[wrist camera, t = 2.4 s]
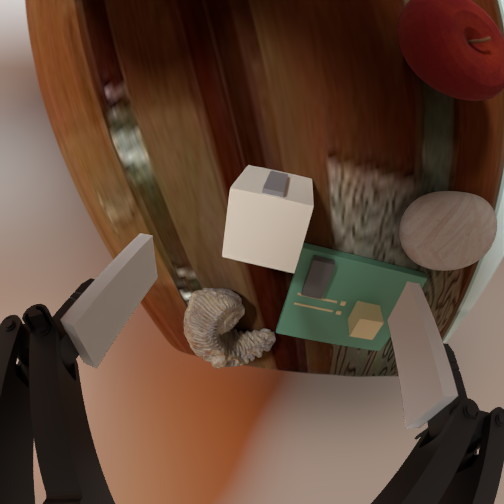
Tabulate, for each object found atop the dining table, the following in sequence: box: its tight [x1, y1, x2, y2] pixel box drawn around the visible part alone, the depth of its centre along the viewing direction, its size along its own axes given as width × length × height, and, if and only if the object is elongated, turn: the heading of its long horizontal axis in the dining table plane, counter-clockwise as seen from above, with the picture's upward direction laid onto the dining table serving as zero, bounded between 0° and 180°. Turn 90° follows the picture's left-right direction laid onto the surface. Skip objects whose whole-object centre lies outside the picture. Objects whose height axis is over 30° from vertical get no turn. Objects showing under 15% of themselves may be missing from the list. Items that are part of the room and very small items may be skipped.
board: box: [276, 243, 428, 351], centre depth 31 cm, size 16×14×4 cm
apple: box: [398, 0, 504, 101], centre depth 12 cm, size 10×10×10 cm
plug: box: [222, 165, 314, 273], centre depth 25 cm, size 6×7×7 cm
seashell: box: [183, 288, 276, 369], centre depth 35 cm, size 14×10×10 cm
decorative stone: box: [399, 191, 497, 271], centre depth 23 cm, size 13×9×5 cm
